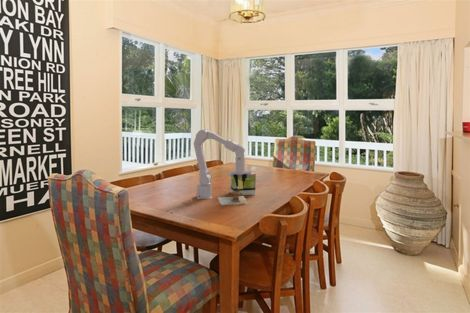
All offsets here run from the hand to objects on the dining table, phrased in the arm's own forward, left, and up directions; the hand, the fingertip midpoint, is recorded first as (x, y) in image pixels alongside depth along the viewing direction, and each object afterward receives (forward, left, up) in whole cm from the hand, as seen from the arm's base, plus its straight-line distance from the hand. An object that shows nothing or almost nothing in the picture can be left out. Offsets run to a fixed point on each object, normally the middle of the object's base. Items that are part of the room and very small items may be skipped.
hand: (239, 186), depth 200 cm
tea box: (+5, +13, -9) cm, 16 cm away
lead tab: (0, 0, -1) cm, 1 cm away
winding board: (-6, -5, -8) cm, 11 cm away
